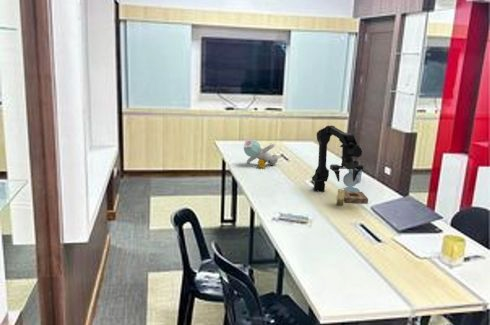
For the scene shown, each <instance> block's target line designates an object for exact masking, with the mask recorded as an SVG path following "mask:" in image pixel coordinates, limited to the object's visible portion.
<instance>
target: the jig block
mask: <svg viewBox="0 0 490 325" xmlns="http://www.w3.org/2000/svg"><path fill="white" fill-rule="evenodd" d="M344 203H345V204H347V203H348V204H349V203H350V204H364V203H368V204H369V198H368V197H367V195H366V194H365V193H364V192H363V191H360V192H355V191H345V194H344Z"/></svg>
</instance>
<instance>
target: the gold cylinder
mask: <svg viewBox="0 0 490 325" xmlns="http://www.w3.org/2000/svg"><path fill="white" fill-rule="evenodd" d="M344 194H345V190H344V189H337V196H336V204H335V205H336V206H340V207H342V206H344V203H345V202H344Z"/></svg>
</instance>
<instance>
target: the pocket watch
mask: <svg viewBox="0 0 490 325" xmlns="http://www.w3.org/2000/svg"><path fill="white" fill-rule="evenodd" d="M342 181H343V185H345V186H346V187H345V188H344V189H343V190H345V191H355V192H361V191H360V189H359V188H357V187H355V186H356V185H357V184H358V183H357V181H358V179H357V176H356V178H355V181H353V173H349V172H347V173H346V174H344V176H343V177H342Z"/></svg>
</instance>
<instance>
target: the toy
mask: <svg viewBox="0 0 490 325" xmlns="http://www.w3.org/2000/svg"><path fill="white" fill-rule="evenodd" d="M275 146H276V145H275V143H269V145H267V146H265V147H264V148H262V147H261V144H260V142H258V141H257V140H254V138H247V139H245V140H244V145H243V151H244V153H245V154H246V156H248V157H249V158H248V159H247V160H246V163H247V164H250V163H251V162H253V161H254V160H256V159H258V161H257V165H258V167H260V168H261V169H263V170H264V169H265V168H266V167H267V166H266V163H267V164H269V165H270V166H274V165H276V164H277V163H278V160H279V155H278V154H272V153H271V152H269V151H270V150H272V149H273V148H275Z"/></svg>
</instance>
